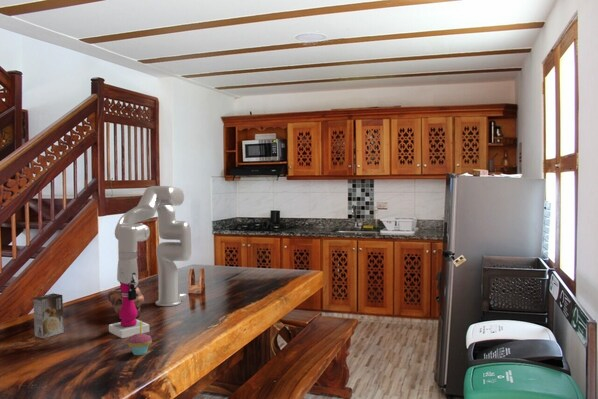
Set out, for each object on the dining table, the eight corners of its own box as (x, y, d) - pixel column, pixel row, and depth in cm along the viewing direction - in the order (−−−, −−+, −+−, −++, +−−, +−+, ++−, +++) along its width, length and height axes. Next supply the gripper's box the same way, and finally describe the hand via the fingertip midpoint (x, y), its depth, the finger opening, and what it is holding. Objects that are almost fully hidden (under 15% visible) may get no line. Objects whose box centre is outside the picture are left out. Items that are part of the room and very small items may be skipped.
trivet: (135, 325, 218) (135, 318, 218) (149, 331, 210) (149, 324, 210) (109, 331, 210) (108, 324, 210) (122, 338, 202) (121, 330, 201)
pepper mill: (131, 327, 205) (130, 278, 204) (116, 326, 206) (114, 278, 206) (141, 322, 212) (139, 275, 211) (125, 322, 213) (124, 275, 213)
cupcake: (131, 349, 188) (130, 318, 188) (154, 348, 189) (153, 317, 189) (125, 357, 180) (124, 324, 179) (149, 357, 181) (149, 324, 180)
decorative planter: (98, 319, 229) (97, 288, 228) (115, 312, 241) (114, 283, 240) (136, 322, 223) (136, 291, 223) (151, 315, 235) (151, 285, 234)
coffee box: (55, 330, 212) (54, 292, 211) (64, 332, 209) (63, 294, 208) (33, 336, 204) (32, 297, 204) (43, 338, 201) (42, 299, 200)
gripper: (110, 254, 212) (110, 296, 213) (129, 258, 200) (129, 303, 200) (126, 252, 217) (127, 293, 218) (146, 256, 205) (146, 300, 206)
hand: (128, 298), depth 209 cm, fingers open, 5 cm apart
